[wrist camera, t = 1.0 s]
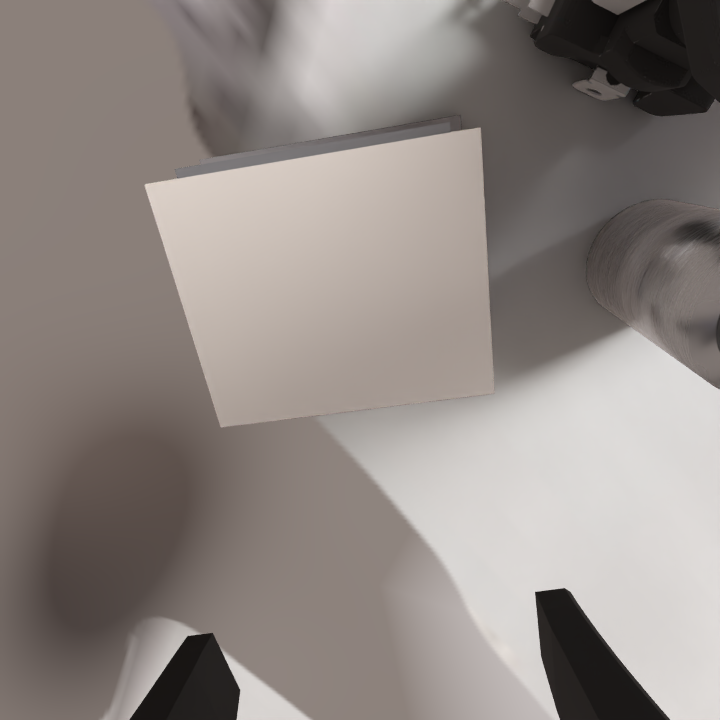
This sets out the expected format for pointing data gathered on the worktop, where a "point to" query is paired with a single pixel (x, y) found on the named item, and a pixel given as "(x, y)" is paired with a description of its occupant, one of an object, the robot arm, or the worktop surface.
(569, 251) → the worktop surface
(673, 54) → the push button
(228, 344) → the panel
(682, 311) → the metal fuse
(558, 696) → the robot arm
